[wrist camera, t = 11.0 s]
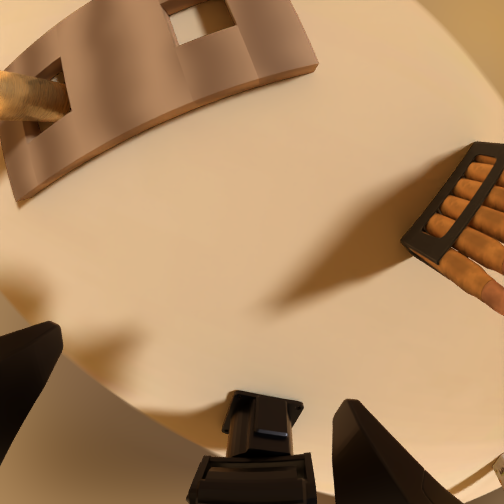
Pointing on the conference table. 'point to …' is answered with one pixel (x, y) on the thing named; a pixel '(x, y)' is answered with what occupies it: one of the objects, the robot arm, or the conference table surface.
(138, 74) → the block
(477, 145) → the ammunition clip
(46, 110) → the brass peg
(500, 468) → the coffee box
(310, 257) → the conference table surface
